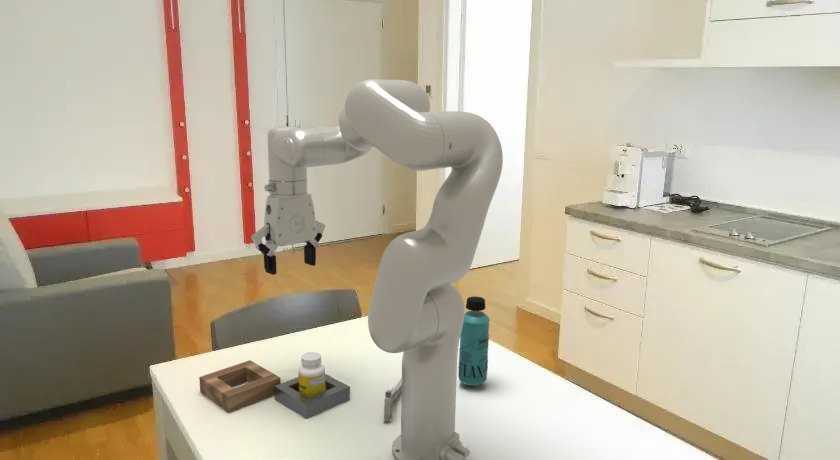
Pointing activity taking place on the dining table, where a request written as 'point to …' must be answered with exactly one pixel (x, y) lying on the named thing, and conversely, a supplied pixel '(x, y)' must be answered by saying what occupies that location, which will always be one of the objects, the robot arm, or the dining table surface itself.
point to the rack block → (233, 399)
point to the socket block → (315, 404)
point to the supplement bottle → (311, 375)
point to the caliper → (391, 400)
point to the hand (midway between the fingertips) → (290, 268)
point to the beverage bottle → (474, 343)
